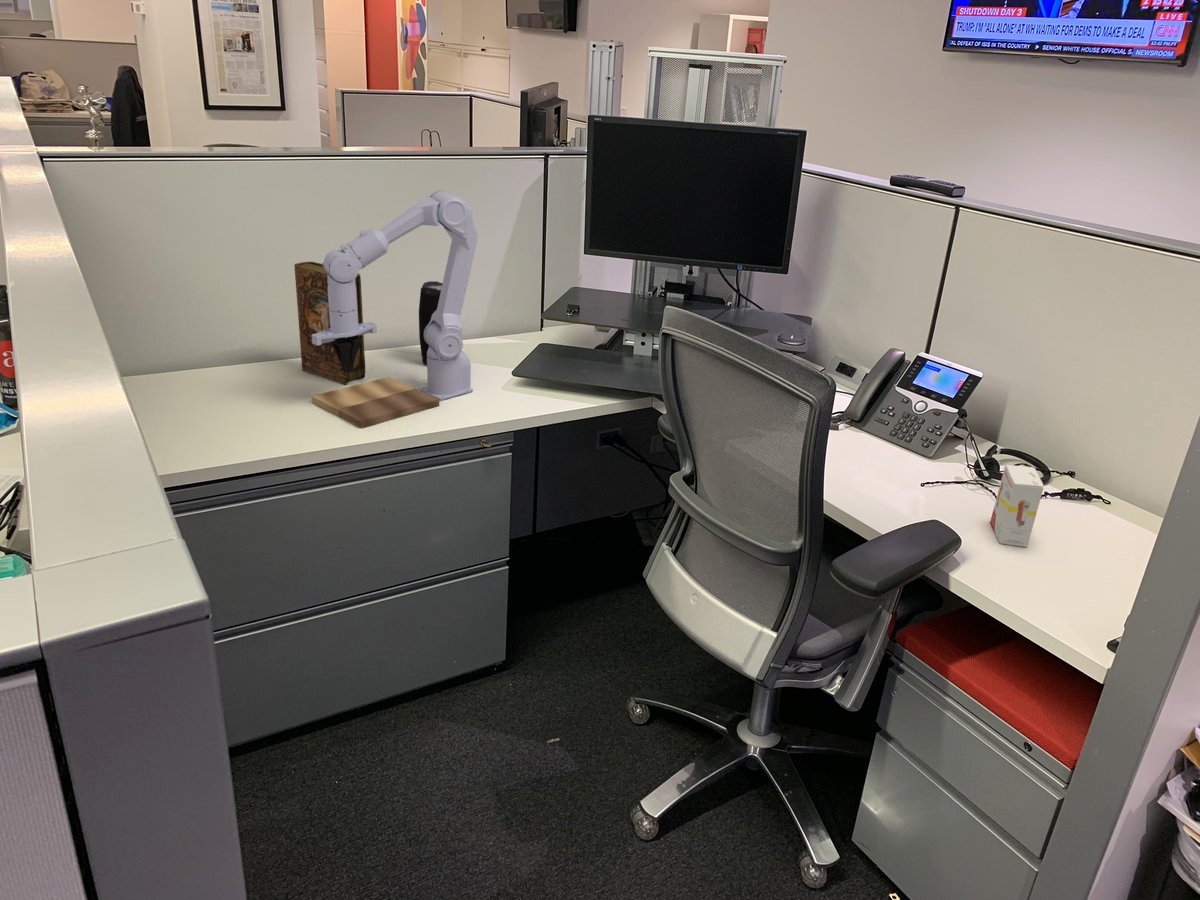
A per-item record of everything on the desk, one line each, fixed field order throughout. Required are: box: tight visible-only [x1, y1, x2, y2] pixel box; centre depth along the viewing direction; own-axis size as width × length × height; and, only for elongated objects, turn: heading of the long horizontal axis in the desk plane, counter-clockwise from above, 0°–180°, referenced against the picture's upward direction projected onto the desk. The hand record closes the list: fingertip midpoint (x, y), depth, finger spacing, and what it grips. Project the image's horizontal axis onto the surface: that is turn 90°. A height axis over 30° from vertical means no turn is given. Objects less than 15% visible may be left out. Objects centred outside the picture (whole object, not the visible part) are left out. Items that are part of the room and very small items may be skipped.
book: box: [293, 261, 366, 385], centre depth 208 cm, size 16×6×25 cm, turn 58°
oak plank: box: [311, 376, 417, 417], centre depth 200 cm, size 20×10×2 cm, turn 138°
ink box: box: [989, 464, 1044, 548], centre depth 158 cm, size 9×5×12 cm, turn 168°
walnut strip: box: [338, 388, 440, 429], centre depth 194 cm, size 20×8×2 cm, turn 138°
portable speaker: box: [418, 280, 443, 364], centre depth 221 cm, size 9×9×20 cm
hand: (347, 370), depth 195 cm, fingers closed
